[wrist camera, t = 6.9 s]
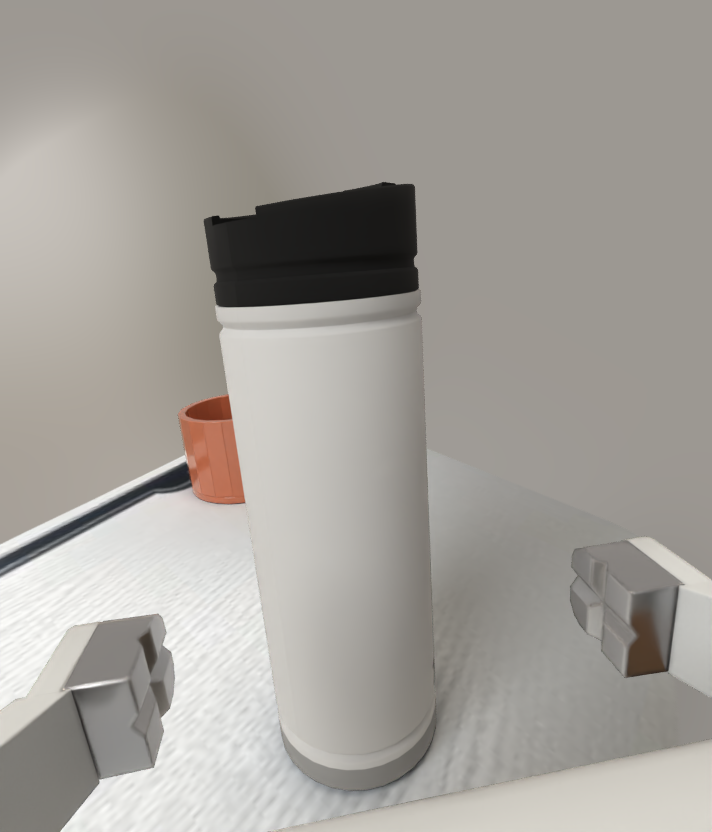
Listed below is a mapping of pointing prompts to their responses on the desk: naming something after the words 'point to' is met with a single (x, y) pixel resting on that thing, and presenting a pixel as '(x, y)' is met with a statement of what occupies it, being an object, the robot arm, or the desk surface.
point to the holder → (212, 450)
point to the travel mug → (335, 470)
